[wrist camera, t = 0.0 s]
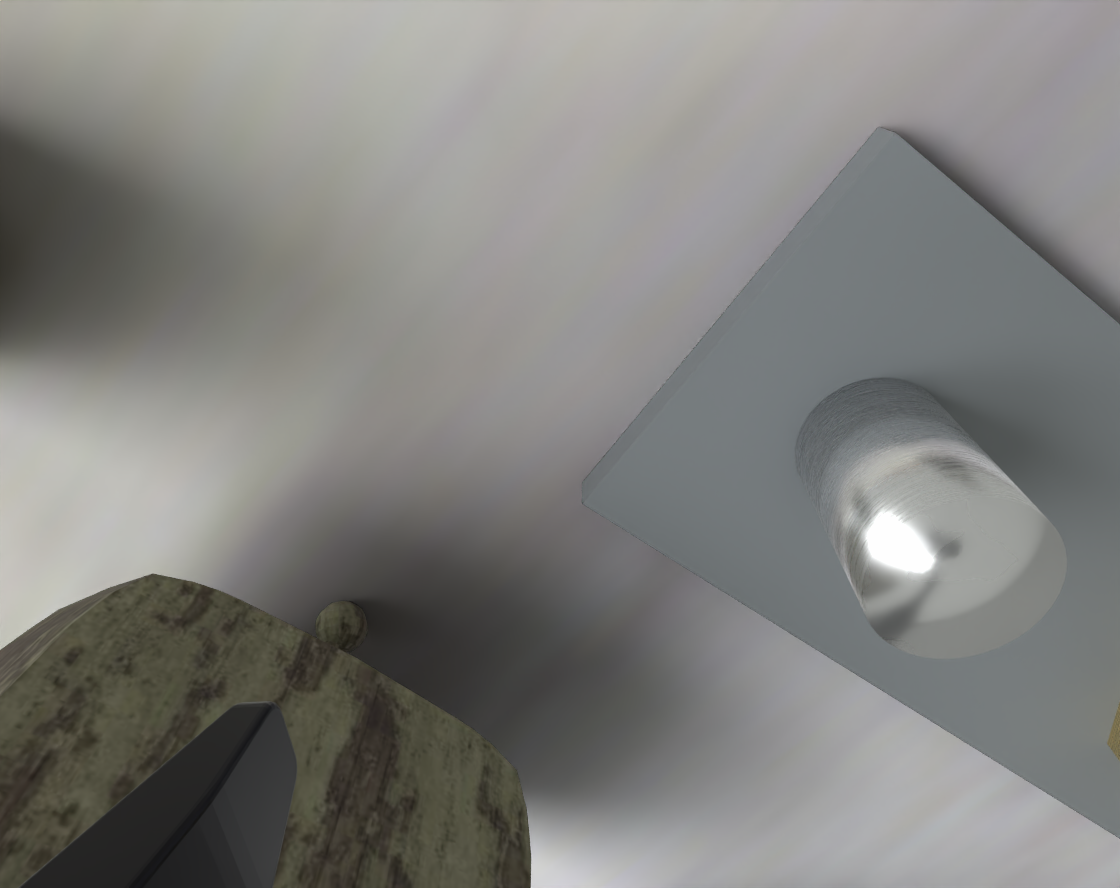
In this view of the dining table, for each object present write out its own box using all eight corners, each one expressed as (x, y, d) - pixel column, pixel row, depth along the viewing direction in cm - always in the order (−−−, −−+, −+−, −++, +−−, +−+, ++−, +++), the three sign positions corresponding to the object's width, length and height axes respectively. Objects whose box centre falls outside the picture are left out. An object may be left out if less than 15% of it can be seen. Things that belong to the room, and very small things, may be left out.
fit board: (1479, 637, 26) (1778, 842, 19) (1151, 841, 30) (1303, 1060, 24) (878, 126, 19) (1022, 175, 13) (582, 482, 24) (580, 648, 18)
